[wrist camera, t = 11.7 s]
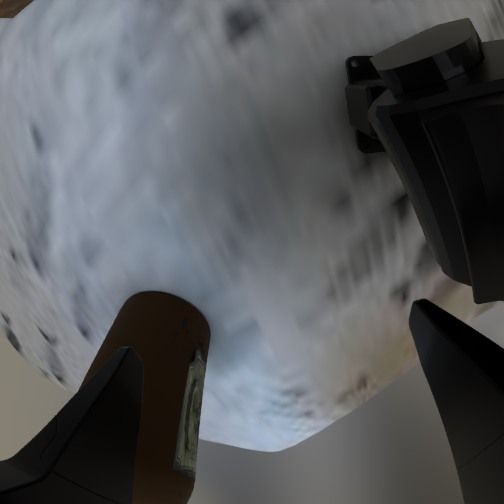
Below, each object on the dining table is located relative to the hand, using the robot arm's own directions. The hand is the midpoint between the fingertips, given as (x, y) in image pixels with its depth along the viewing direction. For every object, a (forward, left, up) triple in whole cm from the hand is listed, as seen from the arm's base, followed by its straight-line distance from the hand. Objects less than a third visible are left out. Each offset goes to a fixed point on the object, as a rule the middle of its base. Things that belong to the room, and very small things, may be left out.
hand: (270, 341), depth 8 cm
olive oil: (+12, +12, -13) cm, 22 cm away
